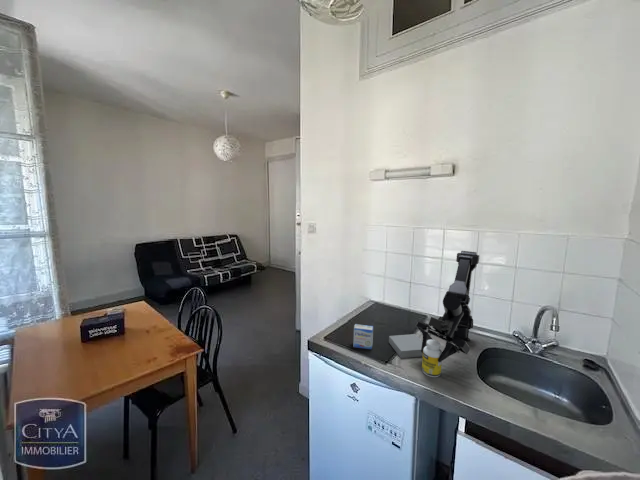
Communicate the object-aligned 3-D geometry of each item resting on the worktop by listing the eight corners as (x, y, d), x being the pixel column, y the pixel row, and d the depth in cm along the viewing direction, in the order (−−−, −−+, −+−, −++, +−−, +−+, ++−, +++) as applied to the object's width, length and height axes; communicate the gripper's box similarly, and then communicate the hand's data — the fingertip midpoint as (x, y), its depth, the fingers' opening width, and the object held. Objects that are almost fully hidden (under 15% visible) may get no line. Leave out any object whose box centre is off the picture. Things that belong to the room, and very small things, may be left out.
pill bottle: (417, 369, 103) (419, 339, 101) (431, 365, 105) (433, 336, 103) (430, 379, 97) (432, 349, 95) (445, 375, 99) (447, 345, 97)
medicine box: (353, 347, 118) (353, 328, 116) (354, 342, 122) (354, 323, 120) (372, 349, 116) (372, 330, 114) (372, 344, 120) (373, 325, 119)
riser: (414, 340, 123) (415, 334, 123) (429, 355, 112) (429, 348, 111) (388, 342, 122) (389, 336, 121) (400, 358, 110) (401, 351, 109)
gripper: (420, 300, 107) (399, 335, 103) (468, 318, 92) (446, 360, 88) (431, 315, 113) (412, 348, 109) (478, 334, 98) (458, 374, 93)
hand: (430, 356), depth 99 cm, fingers closed on pill bottle, 6 cm apart
